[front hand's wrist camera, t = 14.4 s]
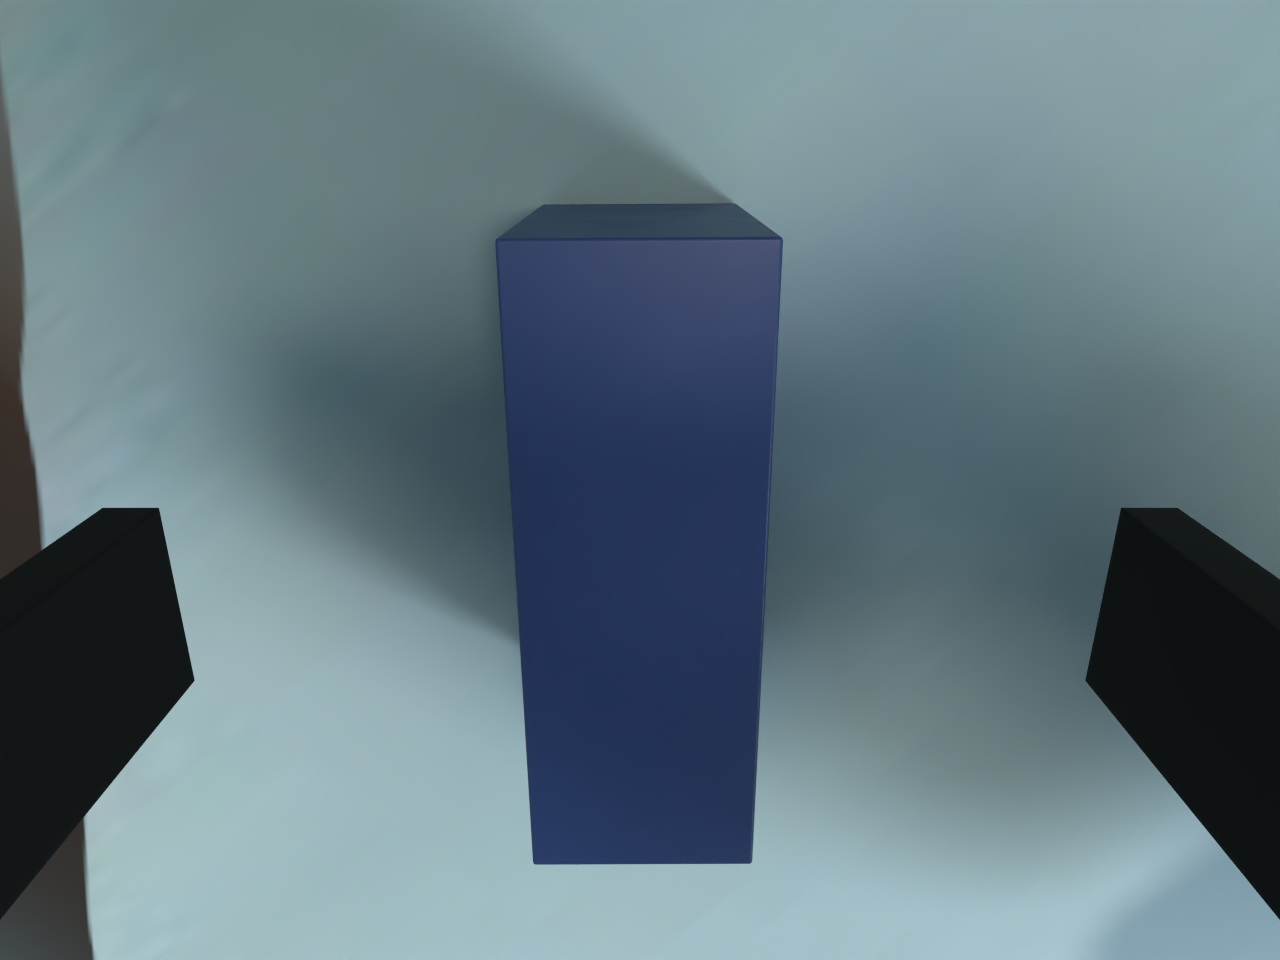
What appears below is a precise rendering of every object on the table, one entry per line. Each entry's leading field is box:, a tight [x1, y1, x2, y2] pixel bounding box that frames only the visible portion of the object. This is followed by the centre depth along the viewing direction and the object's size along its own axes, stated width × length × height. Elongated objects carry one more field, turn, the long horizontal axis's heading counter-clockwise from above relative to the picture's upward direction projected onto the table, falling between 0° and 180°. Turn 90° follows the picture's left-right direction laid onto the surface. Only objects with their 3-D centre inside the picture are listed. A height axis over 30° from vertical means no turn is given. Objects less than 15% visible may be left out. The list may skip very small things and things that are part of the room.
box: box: [495, 204, 783, 864], centre depth 33 cm, size 21×8×12 cm, turn 0°
